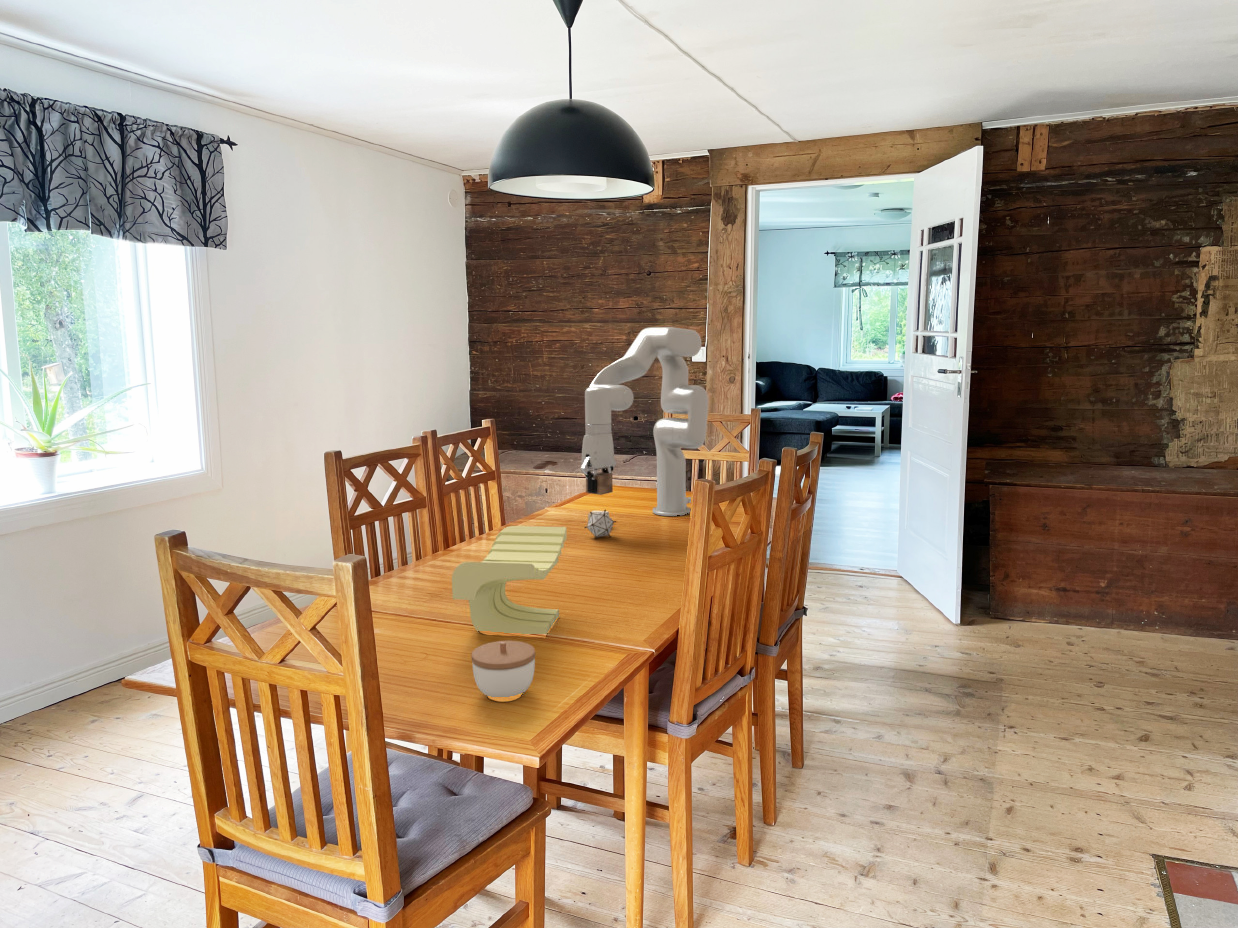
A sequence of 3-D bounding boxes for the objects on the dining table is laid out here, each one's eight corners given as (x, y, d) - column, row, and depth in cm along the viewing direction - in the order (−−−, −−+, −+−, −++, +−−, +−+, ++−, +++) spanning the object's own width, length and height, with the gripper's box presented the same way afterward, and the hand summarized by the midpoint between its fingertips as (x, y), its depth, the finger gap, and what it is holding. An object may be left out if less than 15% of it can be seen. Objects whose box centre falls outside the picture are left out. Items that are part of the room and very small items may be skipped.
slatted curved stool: (500, 601, 197) (497, 525, 194) (568, 603, 195) (566, 526, 192) (455, 649, 168) (450, 561, 165) (534, 653, 166) (531, 563, 163)
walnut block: (598, 490, 257) (597, 471, 256) (612, 492, 253) (612, 473, 252) (586, 492, 252) (585, 474, 252) (600, 494, 249) (600, 476, 248)
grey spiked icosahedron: (593, 526, 270) (593, 510, 269) (609, 527, 269) (608, 511, 268) (588, 529, 265) (588, 513, 265) (603, 530, 264) (603, 514, 263)
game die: (606, 550, 255) (615, 528, 248) (578, 541, 254) (587, 518, 248) (612, 530, 261) (621, 507, 255) (585, 520, 261) (594, 498, 255)
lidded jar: (461, 703, 144) (458, 649, 143) (492, 678, 154) (490, 628, 153) (518, 712, 140) (516, 657, 139) (547, 686, 150) (545, 635, 149)
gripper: (606, 426, 259) (607, 485, 262) (569, 431, 246) (570, 494, 248) (626, 427, 254) (627, 488, 257) (589, 433, 241) (590, 497, 244)
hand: (599, 490), depth 253 cm, fingers closed on walnut block, 5 cm apart
